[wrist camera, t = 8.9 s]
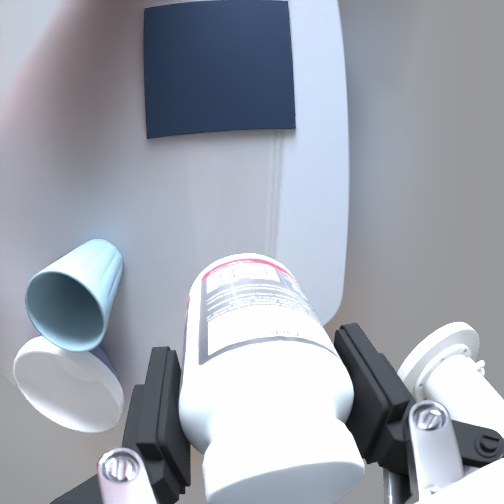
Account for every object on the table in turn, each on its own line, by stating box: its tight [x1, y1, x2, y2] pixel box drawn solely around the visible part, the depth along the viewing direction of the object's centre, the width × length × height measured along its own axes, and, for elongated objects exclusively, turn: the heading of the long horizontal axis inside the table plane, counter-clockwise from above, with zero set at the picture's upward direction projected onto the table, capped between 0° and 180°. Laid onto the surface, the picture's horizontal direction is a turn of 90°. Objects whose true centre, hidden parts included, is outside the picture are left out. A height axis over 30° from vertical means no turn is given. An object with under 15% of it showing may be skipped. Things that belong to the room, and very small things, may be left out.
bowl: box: [13, 336, 124, 433], centre depth 31 cm, size 14×14×8 cm
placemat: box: [144, 0, 296, 139], centre depth 24 cm, size 14×14×1 cm
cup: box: [25, 239, 124, 352], centre depth 25 cm, size 8×8×10 cm
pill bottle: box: [178, 254, 365, 504], centre depth 10 cm, size 5×5×10 cm
